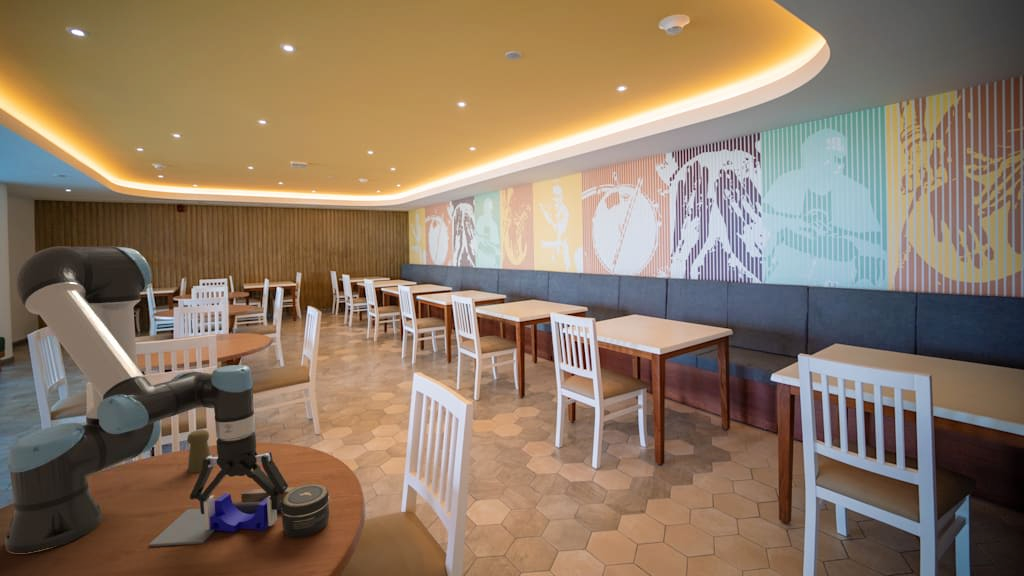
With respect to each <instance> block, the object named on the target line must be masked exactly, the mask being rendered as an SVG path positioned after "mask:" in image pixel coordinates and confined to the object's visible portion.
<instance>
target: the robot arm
mask: <svg viewBox="0 0 1024 576" xmlns="http://www.w3.org/2000/svg"><path fill="white" fill-rule="evenodd" d="M16 274H17V275H16V277H15V290H16V293H17V296H18V298H19V300H20V302H21V303H22V305H23V306H24V308H25V309H26V310H27V311H28V312H29V313H31V314H34V315H39V316H40V318H41V319H42V320H43V322H44V323H45V324H46V326H47V327H48V328H49V330H50V331H51V333H53V335H54V336H55V338H56V339H57V340H58V341H59V343H60V344H61V346H62V348H64V350H65V352H66V353H67V354H68V355H69V356H70V358H71V359H72V361H74V363H75V364H76V366H77V367H78V368H79V370H80V371H81V372H82V374H83V375H84V377H85V378H86V379H87V380H88V382H89V383H90V384H91V387H92V399H93V406H92V407H91V409H89V410H88V411H87V412H86V414H85V420H86V424H81V423H79V422H67V423H61V424H57V425H56V426H54V425H52V426H49V427H45V428H41V429H38V430H37V431H34V432H32V433H29V434H28V435H26V436H24V437H22V438H20V439H19V440H17V441H16V442H15V443H14V444H13V445H12V446H11V447H10V450H9V454H8V455H9V457H8V458H9V459H8V470H9V474H10V475H9V476H10V482H11V489H12V491H11V492H12V498H13V505H14V506H13V507H14V508H13V510H14V511H13V512H14V513H13V515H12V518H11V521H10V524H9V527H8V531H7V534H6V536H5V539H4V542H5V543H4V544H5V550H6V549H7V550H8V551H10V552H14V553H28V552H34V551H38V550H42V549H46V548H51V547H55V546H59V547H61V546H60V545H62V546H64V545H66V544H65V543H67V544H69V543H71V542H70V541H72V540H74V539H76V538H78V537H80V538H81V536H82V537H83V535H84V536H85V535H87V534H89V533H90V532H92V531H93V530H94V529H95V528H97V527H98V526H99V524H101V522H102V520H103V517H102V516H103V515H102V508H101V506H99V505H98V504H97V503H96V500H95V498H94V496H93V494H92V492H91V490H90V487H89V478H88V477H89V476H91V475H94V474H96V473H98V472H100V471H103V470H106V469H108V468H110V467H113V466H115V465H118V464H120V463H121V464H122V463H123V462H125V461H129V460H132V459H134V458H137V457H138V456H140V455H142V454H144V453H147V452H148V451H150V450H151V449H152V448H153V447H154V446H155V445H156V444H157V442H158V441H159V438H160V435H161V432H162V424H161V421H162V420H164V419H167V418H171V417H174V416H177V415H180V414H182V413H185V412H188V411H191V410H194V409H196V408H208V409H213V410H214V422H215V423H214V425H215V437H216V438H217V439H216V454H217V456H215V454H212V453H210V455H209V456H208V457H207V458H205V459H204V460H203V466H202V471H201V472H199V475H198V478H197V480H196V482H195V484H194V486H193V488H192V490H191V492H190V495H189V499H190V500H198V501H199V509H201V514H204V515H205V529H206V530H209V529H210V516H212V515H213V514H214V513H215V500H216V499H215V495H211V494H212V493H213V491H215V490H216V488H217V487H218V485H220V483H221V482H222V480H224V478H225V477H226V476H228V477H235V476H237V477H244V476H247V477H248V479H252V481H254V482H255V483H256V484H257V485H258V486H259V487H260V489H263V490H264V491H265V492H266V493H267V494H268V495H269V497H268V498H267V510H268V526H269V527H272V526H273V525H274V524H275V522H276V521H277V520H278V512H277V509H278V507H279V506H280V494H283V493H284V492H285V490H286V489H287V488H289V485H288V483H287V481H286V480H285V478H284V476H283V475H282V474H281V471H280V470H279V468H278V467H277V465H276V464H275V461H274V460H273V455H272V452H271V451H266V452H265V453H261V454H258V453H257V437H256V431H255V430H256V422H255V421H256V420H255V419H256V418H255V411H254V410H255V409H254V408H255V405H254V389H253V388H254V387H253V386H254V381H253V377H252V370H251V368H250V367H249V366H248V365H245V364H236V365H235V364H233V365H226V366H219V367H217V368H215V369H214V370H213V371H212V373H210V372H209V373H208V372H202V371H187V372H186V371H185V372H181V373H178V374H177V375H175V376H174V377H173V378H172V379H171V380H168V381H165V382H160V383H156V384H152V383H151V382H150V381H149V380H148V379H147V378H146V376H145V375H144V373H143V372H142V371H141V370H140V369H139V367H138V356H137V342H136V340H137V339H136V329H135V313H134V308H135V306H136V305H137V304H138V303H139V302H140V301H141V300H142V299H141V293H143V292H145V291H146V290H148V289H149V288H150V285H151V284H152V271H151V267H150V265H149V263H148V262H147V259H146V258H145V257H144V256H143V255H142V254H141V253H140V252H139V251H137V250H136V249H133V248H130V247H123V246H121V247H120V246H112V245H110V246H63V245H62V246H59V245H58V246H52V247H48V248H44V249H41V250H38V251H37V252H35V253H34V254H31V255H30V256H29V257H28V258H27V259H25V261H24V262H23V263H22V264H21V265H20V267H19V268H18V271H17V273H16ZM257 462H258V463H259V464H258V463H257ZM215 465H217V466H218V467H219V468H220V469H221V470H219V472H218V473H217V475H216V476H215V477H214V478H213V480H212V481H211V482H210V483H209V485H208V486H207V487H206V488H205V486H206V484H207V481H208V479H209V477H210V475H211V473H212V472H213V469H214V466H215ZM260 465H261V466H262V469H263V470H262V469H261V466H260ZM204 488H205V489H204ZM203 490H204V491H203ZM78 539H79V538H78ZM76 540H77V539H76ZM74 541H75V540H74ZM68 542H69V543H68ZM72 542H73V541H72ZM63 544H64V545H63Z"/></svg>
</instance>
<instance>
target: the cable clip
mask: <svg viewBox="0 0 1024 576" xmlns="http://www.w3.org/2000/svg"><path fill="white" fill-rule="evenodd" d="M214 500H215V513H214V514H213V515H212V516H210V530H215V531H220V532H228V533H229V532H231V533H236V532H237V531H238V530H239V529H246V530H257V531H266V530H267V529H268V527H270V526H268V510H267V497H266V498H265V499H264V500H263V501H262V502H261V503H259V504H258V508H257V512H256V513H243V512H241V511H239V510H238V509H237V508H236V507H235V506H234V503H233V501H232V500H233V499H232V496H231V493H223V494H222V495H219V497H218V498H217V499H214Z"/></svg>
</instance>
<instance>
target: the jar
mask: <svg viewBox="0 0 1024 576" xmlns="http://www.w3.org/2000/svg"><path fill="white" fill-rule="evenodd" d="M297 487H298V488H295V489H293V490H291V491H289V492H288V493H287V494H285V495H284V497H283V498H282V501H281V511H280V512H281V522H282V523H281V524H282V528H283V530H284V531H283V532H285V535H287V536H289V537H290V538H294V539H301V538H306V537H311V536H314V535H315V534H317V533H319V532H320V531H321V530H322V531H323V529H324V528H325V527H326V525H327V523H328V521H329V517H330V495H329V489H328V488H327V487H326V486H324V485H323V484H320V483H319V484H317V483H312V484H304V485H301V486H297Z"/></svg>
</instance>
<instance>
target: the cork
mask: <svg viewBox="0 0 1024 576" xmlns="http://www.w3.org/2000/svg"><path fill="white" fill-rule="evenodd" d="M209 438H210V432H208V431H207V430H206V429H199V430H198V429H197V430H194V431H191V432H190V433H189V434H188V435H187V443H188V444H189V452H188V453H189V455H188V464H187V472H188V473H190V474H191V473H192V474H196V473H201V471H202V466H203V460H204V459H205V458H207V457H208V456H209V455H211V451H210V447H209V446H210V445H209V443H208V442H209V441H208V440H209Z"/></svg>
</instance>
